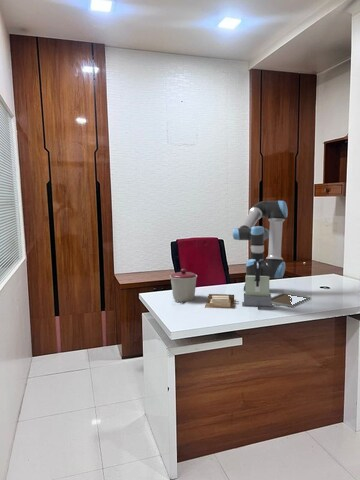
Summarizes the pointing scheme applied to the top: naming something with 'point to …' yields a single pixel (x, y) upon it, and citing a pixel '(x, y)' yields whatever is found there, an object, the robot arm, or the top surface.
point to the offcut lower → (220, 304)
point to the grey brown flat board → (286, 300)
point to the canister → (183, 285)
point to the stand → (258, 302)
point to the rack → (231, 297)
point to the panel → (251, 286)
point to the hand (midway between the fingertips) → (257, 290)
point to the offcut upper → (220, 299)
